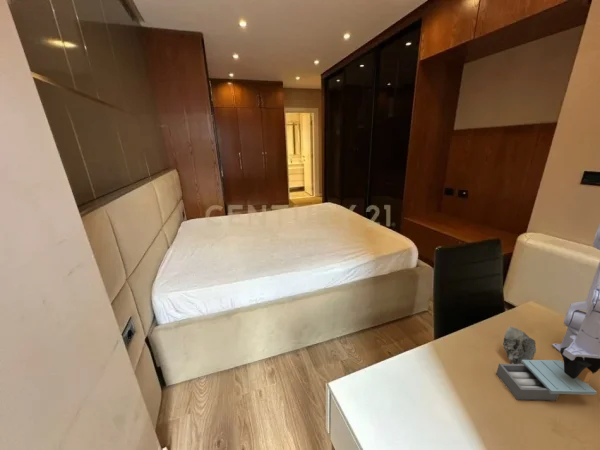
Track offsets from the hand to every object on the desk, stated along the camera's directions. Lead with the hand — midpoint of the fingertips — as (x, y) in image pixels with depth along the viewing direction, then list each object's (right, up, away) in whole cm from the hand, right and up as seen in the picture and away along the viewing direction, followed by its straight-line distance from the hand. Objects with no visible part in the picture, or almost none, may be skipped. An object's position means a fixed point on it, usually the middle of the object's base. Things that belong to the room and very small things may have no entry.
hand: (579, 372), depth 67 cm
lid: (-5, -2, +1) cm, 6 cm away
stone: (-6, -2, +13) cm, 15 cm away
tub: (-13, -5, +2) cm, 14 cm away
